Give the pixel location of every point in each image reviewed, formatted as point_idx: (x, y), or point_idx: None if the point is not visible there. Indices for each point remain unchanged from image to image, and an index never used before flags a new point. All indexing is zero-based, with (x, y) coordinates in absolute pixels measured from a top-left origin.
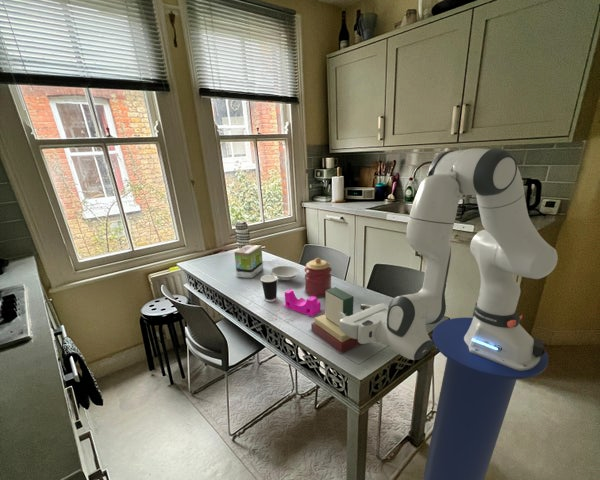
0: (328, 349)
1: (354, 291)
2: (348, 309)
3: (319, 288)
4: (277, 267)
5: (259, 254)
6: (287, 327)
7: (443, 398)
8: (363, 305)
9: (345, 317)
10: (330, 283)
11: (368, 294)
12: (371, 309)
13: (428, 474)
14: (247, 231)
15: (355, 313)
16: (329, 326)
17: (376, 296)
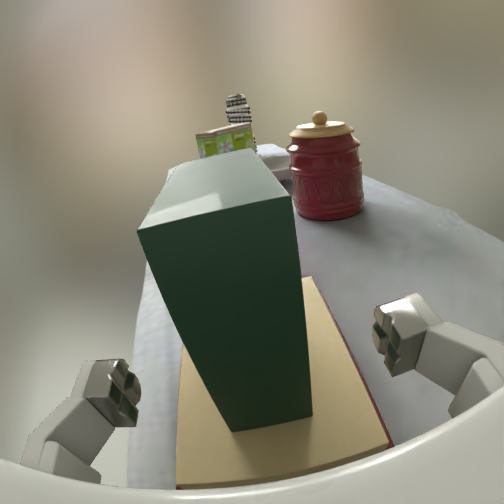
0: (166, 468)
1: (425, 215)
2: (242, 331)
3: (320, 195)
4: (269, 158)
5: (245, 137)
6: (151, 307)
7: None
8: (402, 325)
9: (26, 451)
10: (357, 184)
11: (460, 228)
12: (467, 490)
13: None
14: (243, 108)
15: (111, 491)
16: (188, 376)
17: (481, 236)
